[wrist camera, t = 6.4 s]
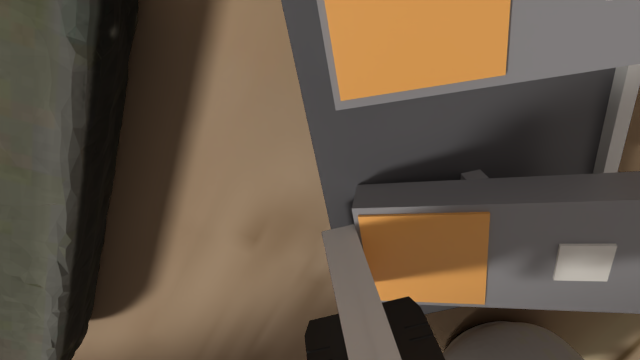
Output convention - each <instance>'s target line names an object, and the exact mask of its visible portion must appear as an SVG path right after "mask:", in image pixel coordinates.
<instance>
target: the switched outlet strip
mask: <svg viewBox="0 0 640 360" xmlns="http://www.w3.org/2000/svg"><path fill="white" fill-rule="evenodd" d="M281 2H282V6H283V11H284V15H285V20H286V24H287V29H288V34H289V38H290V43H291V47H292V52H293V57H294V61H295V66H296V70H297V75H298V80H299V84H300V89H301V93H302V98H303V102H304V107H305V112H306V116H307V121H308V125H309V130H310V135H311V139H312V144H313V148H314V153H315V158H316V162H317V167H318V171H319V176H320V180H321V185H322V190H323V194H324V199H325V203H326V208H327V213H328V217H329V222H330V226H331V229H336V228H340V227H344V226H348V225H353V224H354V219H353V213H352V205H353V201H354V196H355V192H356V188H357V185H363V184H384V183H405V182H426V181H447V180H468V179H489V178H510V177H531V176H552V175H573V174H594V173H615V172H618V168H619V164H620V160H621V156H622V152H623V148H624V145H625V141H626V137H627V133H628V129H629V125H630V121H631V117H632V113H633V109H634V106H635V102H636V98H637V94H638V90H639V86H640V64H636V65H629V66H623V67H616V68H610V69H603V70H597V71H590V72H584V73H577V74H571V75H564V76H558V77H551V78H544V79H538V80H531V81H525V82H518V83H512V84H505V85H499V86H492V87H486V88H479V89H473V90H466V91H460V92H453V93H447V94H440V95H434V96H427V97H421V98H414V99H408V100H401V101H395V102H388V103H382V104H375V105H369V106H362V107H356V108H349V109H343V110H336V109H335V104H334V98H333V92H332V86H331V81H330V75H329V69H328V63H327V58H326V52H325V46H324V40H323V35H322V29H321V23H320V17H319V12H318V6H317V0H281ZM354 226H355V224H354ZM419 306H420V307H421V309H422V311H423V313H424V314H429V313H433V312H438V311H443V310H448V309H452V308H457V307H462V306H440V305H419Z"/></svg>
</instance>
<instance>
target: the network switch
mask: <svg viewBox="0 0 640 360" xmlns="http://www.w3.org/2000/svg"><path fill="white" fill-rule="evenodd" d="M137 13H138V0H0V360H71V359H72V358H73V356H74V354H75V351H76V350H77V349H78V347H79V346H80V345H81V343H82V341H83V339H84V337H85V335H86V333H87V329H88V322H89V319H90V317H91V314H92V311H93V305H94V297H95V290H96V283H97V277H98V271H99V262H100V255H101V251H102V247H103V243H104V234H105V228H106V216H107V212H108V208H109V199H110V196H111V193H112V186H113V179H114V175H115V167H116V156H117V149H118V143H119V133H120V129H121V125H122V117H123V109H124V103H125V96H126V86H127V81H128V62H129V56H130V49H131V45H132V41H133V37H134V33H135V30H136V26H137Z"/></svg>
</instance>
